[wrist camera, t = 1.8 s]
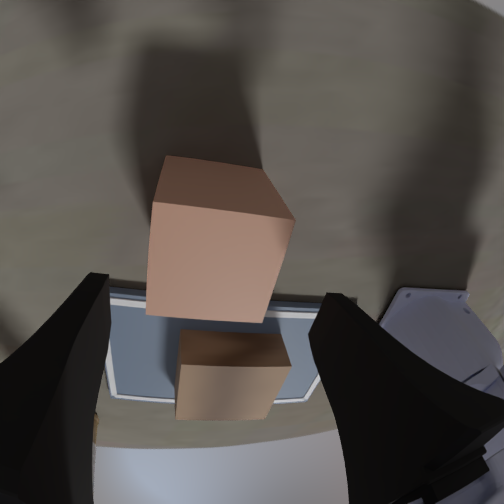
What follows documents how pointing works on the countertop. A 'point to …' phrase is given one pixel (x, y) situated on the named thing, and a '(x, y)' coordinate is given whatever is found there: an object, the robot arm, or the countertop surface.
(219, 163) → the terracotta block
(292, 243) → the countertop surface
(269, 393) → the walnut base block
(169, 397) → the board
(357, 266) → the countertop surface
